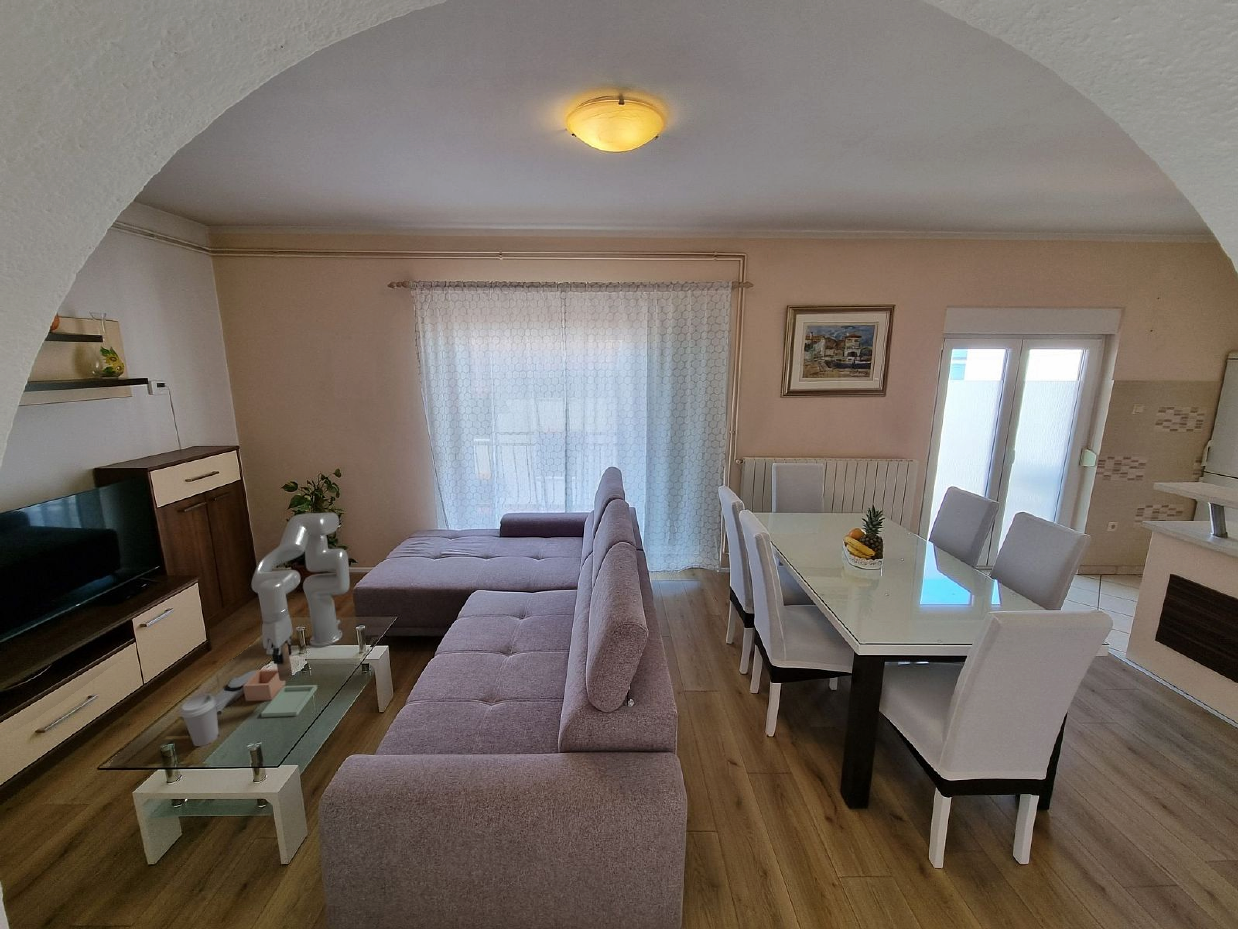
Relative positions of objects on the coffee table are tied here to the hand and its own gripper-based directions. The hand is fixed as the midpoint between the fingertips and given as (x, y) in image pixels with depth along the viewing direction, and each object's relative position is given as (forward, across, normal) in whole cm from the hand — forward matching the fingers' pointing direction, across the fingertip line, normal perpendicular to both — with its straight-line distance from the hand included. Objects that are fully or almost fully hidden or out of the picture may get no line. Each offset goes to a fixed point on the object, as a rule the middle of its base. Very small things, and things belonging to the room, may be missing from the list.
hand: (282, 658), depth 174 cm
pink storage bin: (+20, -6, -12) cm, 24 cm away
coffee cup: (+20, +15, -19) cm, 31 cm away
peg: (+8, 0, 0) cm, 8 cm away
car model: (+20, -5, -24) cm, 32 cm away
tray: (+20, 0, 0) cm, 20 cm away
